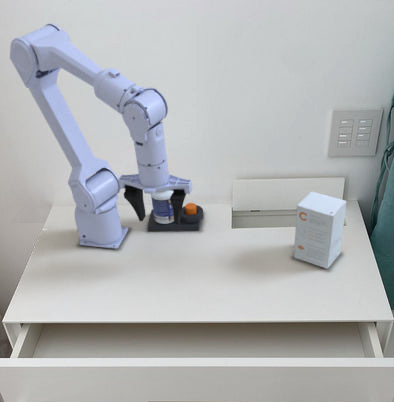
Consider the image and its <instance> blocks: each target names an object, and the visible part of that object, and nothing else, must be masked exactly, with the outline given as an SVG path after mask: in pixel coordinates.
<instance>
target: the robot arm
mask: <svg viewBox="0 0 394 402" xmlns="http://www.w3.org/2000/svg"><path fill="white" fill-rule="evenodd" d="M9 47H10V49H9V60H10V61H11V63H12V65H13V67H14V68H15V70H16V72H17V74H18V76H19V77H20V78H21V81H22V83H23V85H24V86H25V88H27V89H28V91H29V92H30V94H31V96H32V97H33V99H34V101H35V103H36V106H38V108H39V111H40V112H41V114H42V116H43V117H44V120H45V121H46V123H47V125H48V127H49V128H50V130H51V132H52V134H53V136H54V138H55V139H56V141H57V143H58V144H59V147H60V148H61V151H62V152H63V154H64V156H65V158H66V160H67V161H68V163H69V166H70V167H71V172H70V175H69V177H68V180H67V185H68V186H69V189H70V191H71V193H72V199H73V201H74V203H75V208H74V222H75V226H76V229H77V233H78V236H79V240H80V241H79V245H80V246H86V247H87V246H88V247H95V248H96V247H97V248H105V249H115V250H116V249H118V248H119V247H120V246H121V244H122V242H123V240H124V238H125V236H126V235H127V233H128V232H129V227H128V226H122V224H121V219H120V213H119V209H118V208H119V207H118V203H117V201H118V199H119V196H118V194H119V193H120V192H121V190H123V189H124V192H123V197H124V199H125V200H126V201H127V202H128V203H129V204H130V205H131V207H132V208H133V210H134V212H135V214H136V216H137V218H138V220H139V222H144V220H145V218H146V207H145V202H144V201H145V200H144V194H148V195H151V194H153V193H155V191H164V190H170V191H173V193H172V195H171V197H170V202H171V204H172V208H173V213H174V223H175V224H177V225H178V224H179V222H180V220H181V211H182V207H184V202H185V199H186V196H187V195H190V194H191V193H192V190H193V181H192V179H187V178H182V177H179V176H176V175H173V174H170V173H169V167H168V157H167V156H168V155H167V149H166V139H165V132H164V131H165V130H164V122H163V121H164V119H166V117H167V116H168V112H169V107H168V102H167V100H166V98H165V95H163V94H162V92H160V91H159V90H158V89H157V88H155V87H151V86H149V87H145V86H139V85H138V84H136V83H135V82H134V81H132V80H130V79H129V78H128V77H126V76H125V75H123V74H122V73H121V71H120V70H118V69H117V68H113V67H107V68H105V69H103V68H102V67H101V66H99V64H97V63H96V62H95V61H94V60H93V59H91V58H90V57H89V56H87V55H86V54H85V53H84V52H83V51H81V50H80V49H79V48H77V46H75V45H74V44H73V43H72V41H71V38H70V36H69V34H68V32H67V31H66V30H63V29H62V28H61V26H59V25H58V24H56V23H54V22H48V23H46V24H45V25H44V26H42V27H40V28H38V29H35V30H33V31H31V32H29V33H26V34H24V35H22V36H20V37H15V38H13V39H12V40H11V41H10V46H9ZM61 69H62V70H64V71H66V72H68V73H69V74H71V75H73V77H76V78H77V79H79V80H80V81H82V82H84V83H86V84H88V85H89V86H91V87H92V88H93V91H94V95H95V97H96V98H97V99H99V100H100V101H101V102H103V103H104V104H106V105H107V106H108V107H110V108H111V109H113V110H114V111H116V112H117V113H118V114H120V115H121V117H122V121H123V122H124V124H125V126H126V127H127V129H128V131H129V137H130V138H131V140H132V141H133V146H134V153H135V159H136V164H137V172H138V173H134V174H121V175H120V177H119V175H118V174H117V173H116V172H115V171H114V170H113V168H112V167H111V166H110V164H109V162H108V160H106V159H102V158H98V157H96V156H95V155H94V153H93V151H92V149H91V147H90V145H89V143H88V141H87V139H86V138H85V135H84V134H83V132H82V130H81V128H80V126H79V124H78V122H77V120H76V118H75V117H74V115H73V113H72V111H71V109H70V107H69V105H68V102H67V101H66V100H65V98H64V96H63V93H62V92H61V89H60V88H59V86H58V84H57V81H58V75H59V73H60V71H61Z"/></svg>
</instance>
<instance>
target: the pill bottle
mask: <svg viewBox="0 0 394 402" xmlns="http://www.w3.org/2000/svg"><path fill="white" fill-rule="evenodd" d="M172 193H173V191H170V190H164V191H155V193H153V194H150V198H151V204H152V209H153V212H154V218H155V221H156V222H158V223H161V224H169V223H172V222H173V221H174V213H173V208H172V204H171V202H170V197H171V195H172Z"/></svg>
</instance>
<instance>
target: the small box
mask: <svg viewBox="0 0 394 402" xmlns="http://www.w3.org/2000/svg"><path fill="white" fill-rule="evenodd" d="M347 202H348V201H347V200H344V199H342V198H341V199H340V198H337V197H334V196H330V195H327V194H322V193H319V192H317V191H316V192H315V191H312V190H311V191H310V192H309V193H307V195H306V196H305V197H304V198H303V199H302V200H301V201H300V202H299V203H297V204H296V217H295V233H294V249H293V258H294V259H296V260H299V261H303V262H306V263H309V264H311V265H315V266H318V267H321V268H323V269H326V270H327V269H329V268H330V266H331V265H332V264H333V263H334V262H335V261H336V259H337V258H338V257H339V255H341V250H342V244H343V235H344V234H343V233H344V227H345V218H346V212H347Z"/></svg>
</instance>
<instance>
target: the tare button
mask: <svg viewBox="0 0 394 402" xmlns="http://www.w3.org/2000/svg"><path fill="white" fill-rule="evenodd" d="M196 205H197V204H196V203H194V202H189V203H186V204H185V205H184V206H185V211H186V214H187V215H194V214H196V213H197V208H196Z"/></svg>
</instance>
